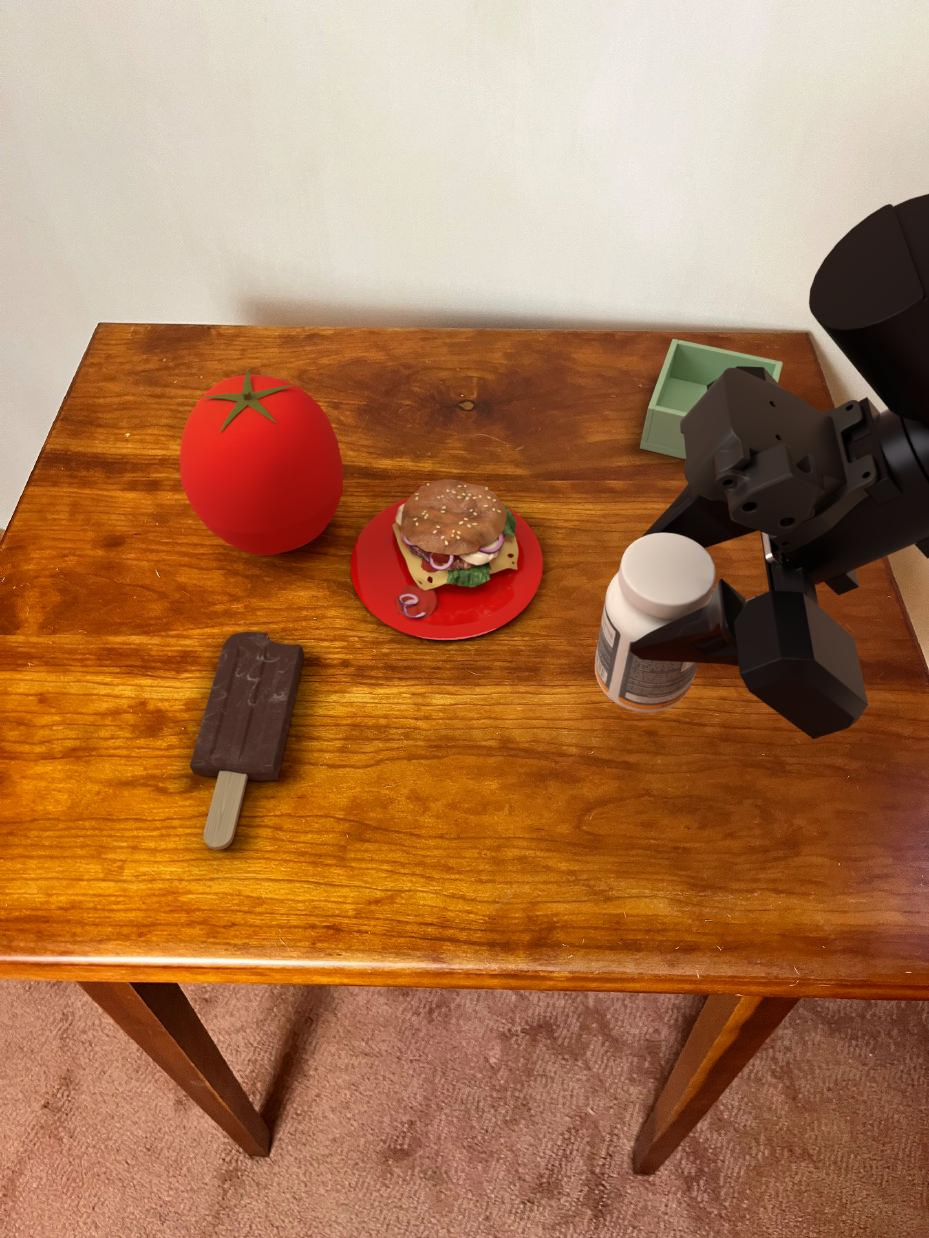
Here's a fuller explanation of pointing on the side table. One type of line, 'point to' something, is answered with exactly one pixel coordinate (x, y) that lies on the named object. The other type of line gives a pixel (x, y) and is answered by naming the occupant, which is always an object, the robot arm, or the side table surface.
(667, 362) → the green storage bin
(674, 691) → the pill bottle
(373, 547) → the hamburger
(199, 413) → the tomato
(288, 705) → the ice cream bar
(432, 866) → the side table surface
